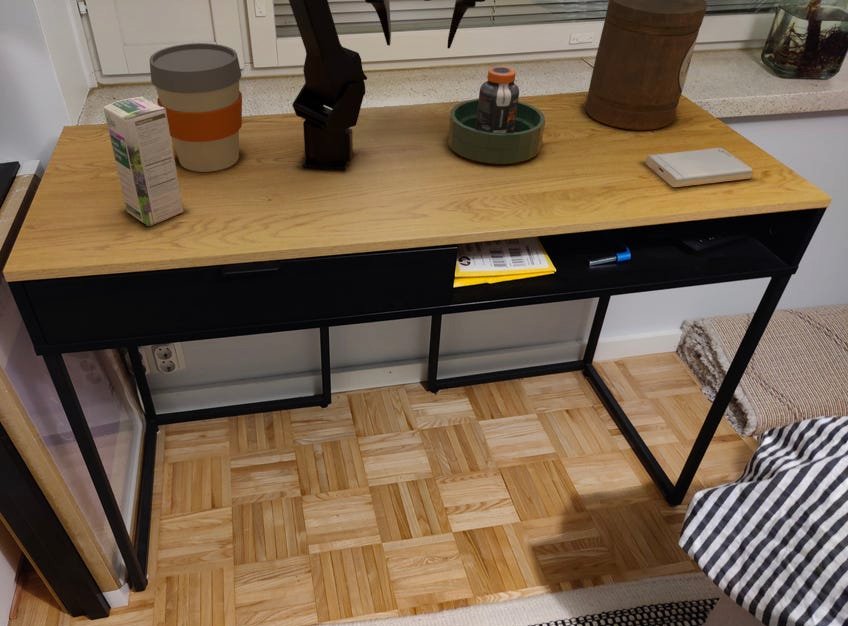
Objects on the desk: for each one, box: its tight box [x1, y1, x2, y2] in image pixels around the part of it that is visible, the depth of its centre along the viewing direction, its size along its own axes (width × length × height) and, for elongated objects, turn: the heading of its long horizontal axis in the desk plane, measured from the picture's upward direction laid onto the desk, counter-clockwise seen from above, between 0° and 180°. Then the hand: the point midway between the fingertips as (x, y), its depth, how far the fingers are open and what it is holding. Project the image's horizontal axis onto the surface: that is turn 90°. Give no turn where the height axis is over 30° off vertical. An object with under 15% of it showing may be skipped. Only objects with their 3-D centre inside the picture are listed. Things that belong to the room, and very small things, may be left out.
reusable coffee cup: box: [149, 42, 243, 173], centre depth 103 cm, size 13×13×15 cm
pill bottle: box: [475, 65, 520, 133], centre depth 107 cm, size 6×6×11 cm
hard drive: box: [644, 147, 754, 188], centre depth 105 cm, size 2×8×12 cm
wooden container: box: [584, 0, 708, 131], centre depth 115 cm, size 15×15×22 cm
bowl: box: [447, 97, 546, 165], centre depth 110 cm, size 14×14×5 cm
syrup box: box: [102, 96, 184, 227], centre depth 91 cm, size 6×6×14 cm
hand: (418, 46), depth 108 cm, fingers open, 9 cm apart
